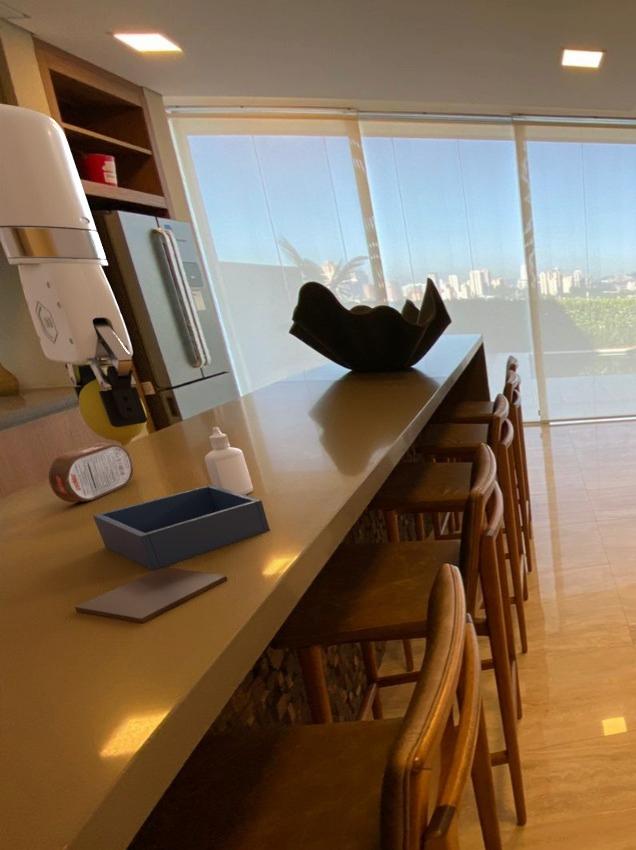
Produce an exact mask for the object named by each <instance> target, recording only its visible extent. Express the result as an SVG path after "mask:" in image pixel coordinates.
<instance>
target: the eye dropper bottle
mask: <svg viewBox="0 0 636 850" xmlns="http://www.w3.org/2000/svg"><path fill="white" fill-rule="evenodd" d="M208 438H209V442H210V444H211V448H212V450H210V451H209V452H208V453H207V454H206V455H205V456H204V463H205V467H206V470H207V473H208V476H209V479H210V482H211V485H213V486H216V487H219V488H223V489H226V490H229V491H232V492H236V493H239V494H242V495H246V496H247V495H248V494H250V493H252V492H253V491H254V486H253V483H252V480H251V479H252V478H251V476H250V473H249V470H248V469H249V468H248V466H247V463H246V459H245V456H244V453H243V451H242V450H241V449H240V448H237V447H232V446H231V445H230V441H229V438H228V435H227V434H226V433H223V432H221V430H220V428H219V427H218V426H215V427H212V435H210V436H209V437H208Z"/></svg>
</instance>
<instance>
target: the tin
mask: <svg viewBox="0 0 636 850" xmlns="http://www.w3.org/2000/svg"><path fill="white" fill-rule="evenodd" d="M48 470H49V471H48V483H49V485H50V488H51V491H53V494H55V495H56V497H57V498H59V499H60V500H62V501H64V502H68V503H76V502H81V503H82V502H83V503H85V502H92V501H94V500H96V499H99V498H102V497H103V496H105V495H108V494H110V493H112V492H115V491H117V490H119V489H122V488H124V487H126V486H127V485H128V484H130V481H131V480H132V477H133V474H134V466H133V461H132V457H131V455H130V453H129V451H128V450H127V449H126V448H125V447H124V446H123V445H121V444H117V443H104V442H96V443H93V444H89V445H87V446H84V447H80V448H77V449H74V450H71V451H67V452H64V453H61V454H59V455H58V456H57V457H55V458H54V460H53V461H52V462H51V464H50V467H49V469H48Z"/></svg>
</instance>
